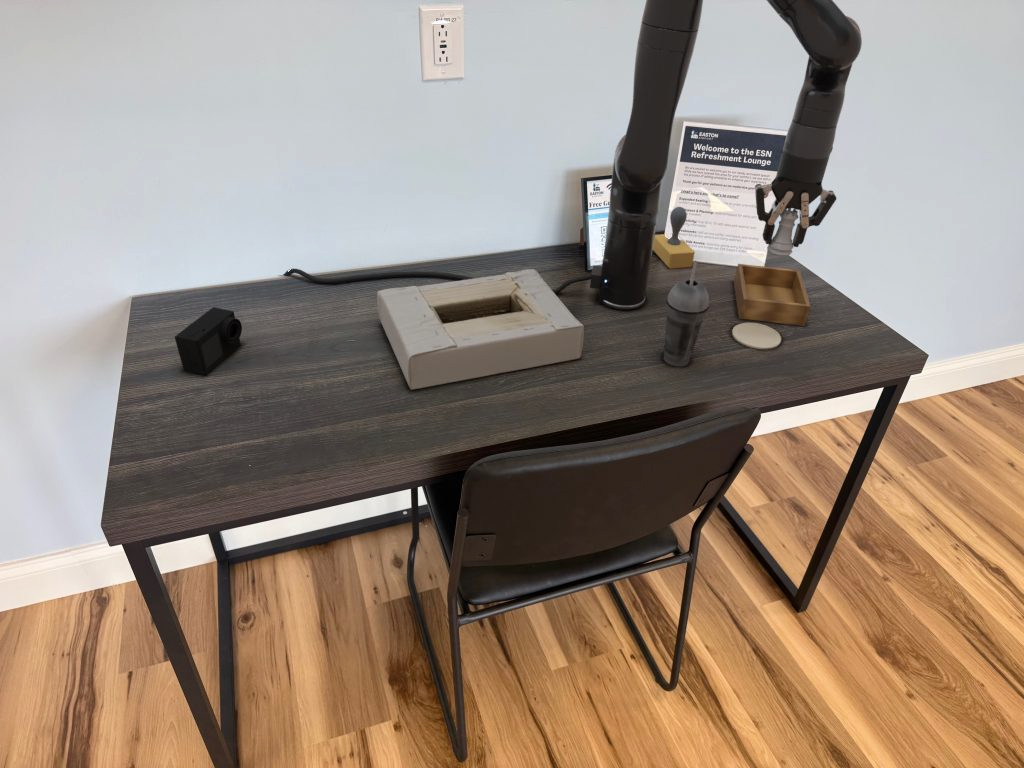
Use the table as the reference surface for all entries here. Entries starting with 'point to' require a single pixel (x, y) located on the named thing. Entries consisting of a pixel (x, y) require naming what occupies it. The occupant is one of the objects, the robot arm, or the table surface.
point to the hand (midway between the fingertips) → (781, 243)
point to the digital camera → (208, 340)
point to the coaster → (756, 335)
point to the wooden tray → (771, 295)
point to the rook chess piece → (784, 234)
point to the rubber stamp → (674, 243)
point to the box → (477, 327)
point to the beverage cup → (684, 319)
